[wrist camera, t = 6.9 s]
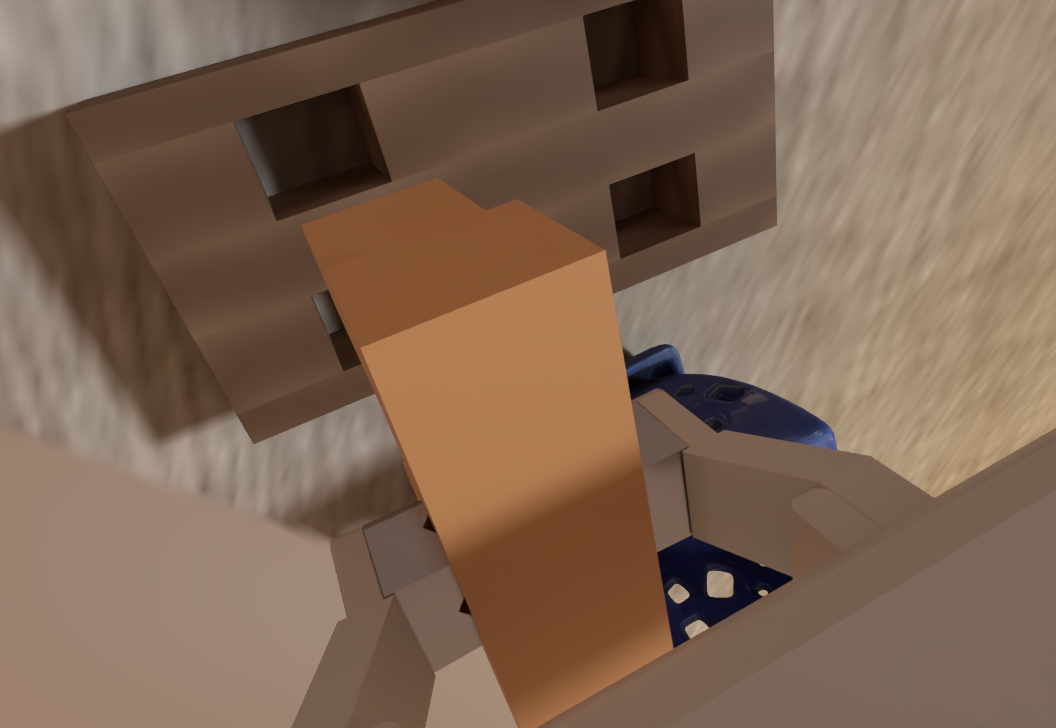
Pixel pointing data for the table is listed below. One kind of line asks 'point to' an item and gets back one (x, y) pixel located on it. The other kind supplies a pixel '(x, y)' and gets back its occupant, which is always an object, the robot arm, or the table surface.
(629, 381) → the flower pot
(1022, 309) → the table surface
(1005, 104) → the table surface
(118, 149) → the block with square holes
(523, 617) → the tan two-pronged block
